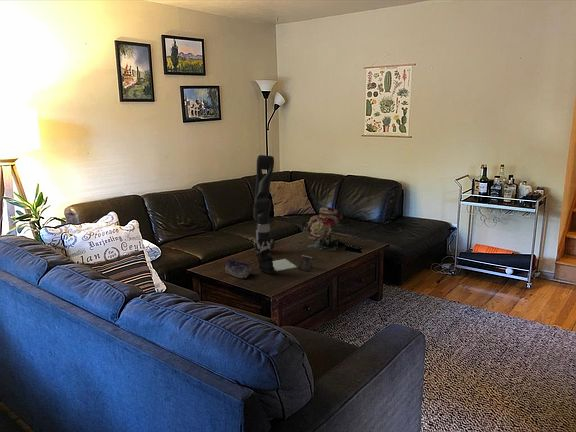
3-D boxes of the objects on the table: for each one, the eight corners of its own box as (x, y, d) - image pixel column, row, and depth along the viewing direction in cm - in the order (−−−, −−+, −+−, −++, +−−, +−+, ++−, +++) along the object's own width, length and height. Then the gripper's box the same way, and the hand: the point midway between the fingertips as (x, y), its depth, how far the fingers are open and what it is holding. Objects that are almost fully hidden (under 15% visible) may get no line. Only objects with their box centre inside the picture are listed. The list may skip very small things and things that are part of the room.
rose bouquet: (311, 240, 358) (311, 201, 351) (348, 243, 346) (348, 204, 339) (298, 249, 335) (297, 209, 328) (337, 253, 323) (336, 211, 316)
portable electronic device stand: (296, 269, 295) (296, 256, 293) (304, 265, 301) (304, 253, 299) (307, 272, 289) (307, 259, 287) (315, 268, 295) (315, 256, 293)
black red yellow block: (272, 273, 282) (265, 249, 284) (261, 276, 292) (254, 254, 294) (277, 271, 285) (270, 248, 286) (265, 275, 295) (258, 252, 296)
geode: (218, 274, 290) (218, 258, 289) (231, 271, 299) (232, 256, 298) (242, 279, 278) (242, 263, 277) (255, 276, 287) (255, 260, 286)
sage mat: (266, 263, 308) (266, 262, 308) (285, 259, 314) (285, 258, 314) (277, 271, 292) (277, 270, 292) (297, 267, 298) (297, 266, 298)
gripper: (272, 227, 291) (273, 253, 295) (250, 230, 285) (251, 256, 289) (276, 230, 284) (277, 256, 288) (255, 233, 279) (256, 260, 283)
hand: (264, 256), depth 289 cm, fingers closed on black red yellow block, 4 cm apart
